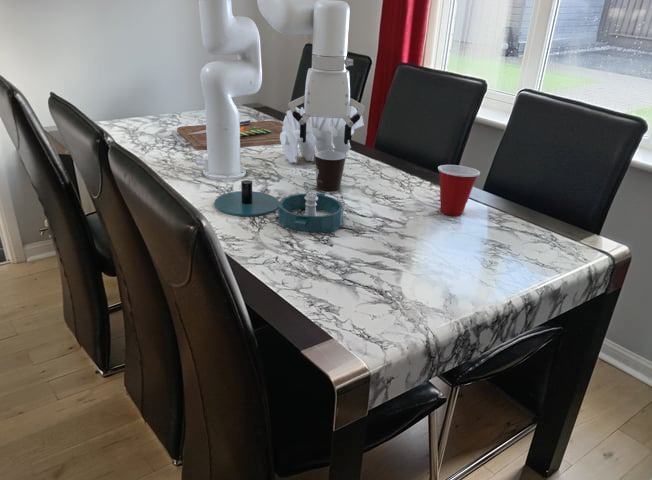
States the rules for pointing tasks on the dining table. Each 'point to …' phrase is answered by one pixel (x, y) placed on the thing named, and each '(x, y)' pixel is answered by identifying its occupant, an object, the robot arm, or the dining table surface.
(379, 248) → the dining table surface
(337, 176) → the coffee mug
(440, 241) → the dining table surface
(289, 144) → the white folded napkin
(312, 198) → the rook chess piece
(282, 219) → the pot
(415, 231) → the dining table surface
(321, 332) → the dining table surface
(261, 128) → the chopping board
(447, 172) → the plastic cup
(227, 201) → the lid
